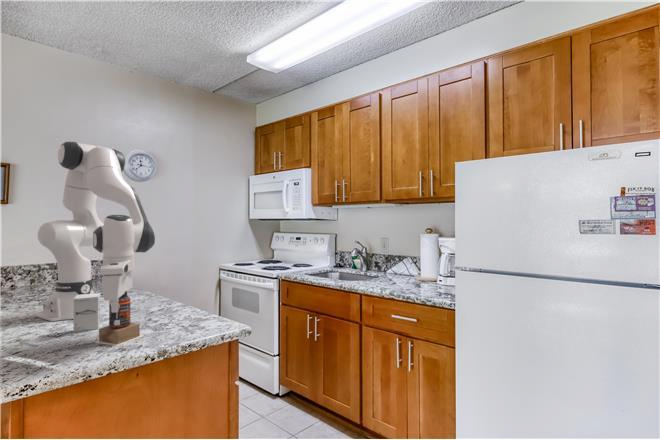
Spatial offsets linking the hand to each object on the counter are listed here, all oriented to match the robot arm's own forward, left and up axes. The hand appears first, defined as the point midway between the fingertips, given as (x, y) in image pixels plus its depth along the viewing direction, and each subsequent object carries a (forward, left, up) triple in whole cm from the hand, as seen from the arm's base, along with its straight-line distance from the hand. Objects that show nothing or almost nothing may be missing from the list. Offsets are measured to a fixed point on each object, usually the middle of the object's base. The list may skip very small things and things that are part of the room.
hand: (119, 308), depth 114 cm
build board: (-3, +1, -11) cm, 11 cm away
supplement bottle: (0, 0, -6) cm, 6 cm away
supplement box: (-21, +5, -11) cm, 24 cm away
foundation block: (0, 0, -10) cm, 10 cm away
